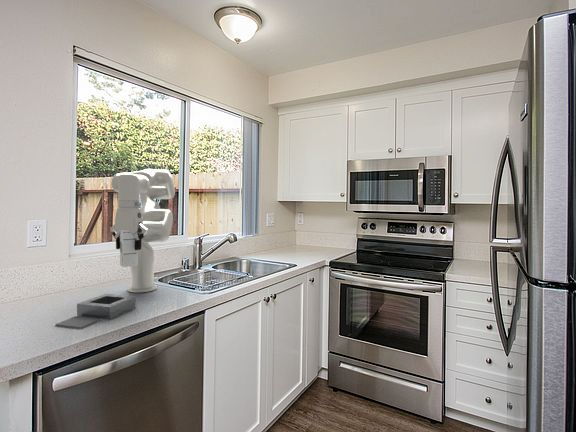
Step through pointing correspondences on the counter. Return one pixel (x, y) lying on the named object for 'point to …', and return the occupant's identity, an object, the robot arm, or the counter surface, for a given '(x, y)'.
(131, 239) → the syrup box
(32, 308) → the counter surface
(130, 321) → the counter surface
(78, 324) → the charcoal mat
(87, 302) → the gray square frame
